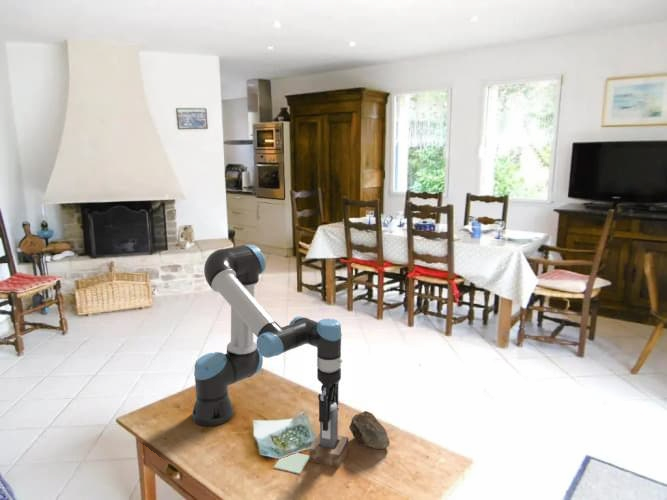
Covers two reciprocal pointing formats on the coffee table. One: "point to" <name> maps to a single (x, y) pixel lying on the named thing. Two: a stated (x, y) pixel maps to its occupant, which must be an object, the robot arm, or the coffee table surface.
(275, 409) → the coffee table surface
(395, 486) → the coffee table surface
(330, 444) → the plug
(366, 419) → the rock
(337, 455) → the brown square frame
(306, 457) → the mat
